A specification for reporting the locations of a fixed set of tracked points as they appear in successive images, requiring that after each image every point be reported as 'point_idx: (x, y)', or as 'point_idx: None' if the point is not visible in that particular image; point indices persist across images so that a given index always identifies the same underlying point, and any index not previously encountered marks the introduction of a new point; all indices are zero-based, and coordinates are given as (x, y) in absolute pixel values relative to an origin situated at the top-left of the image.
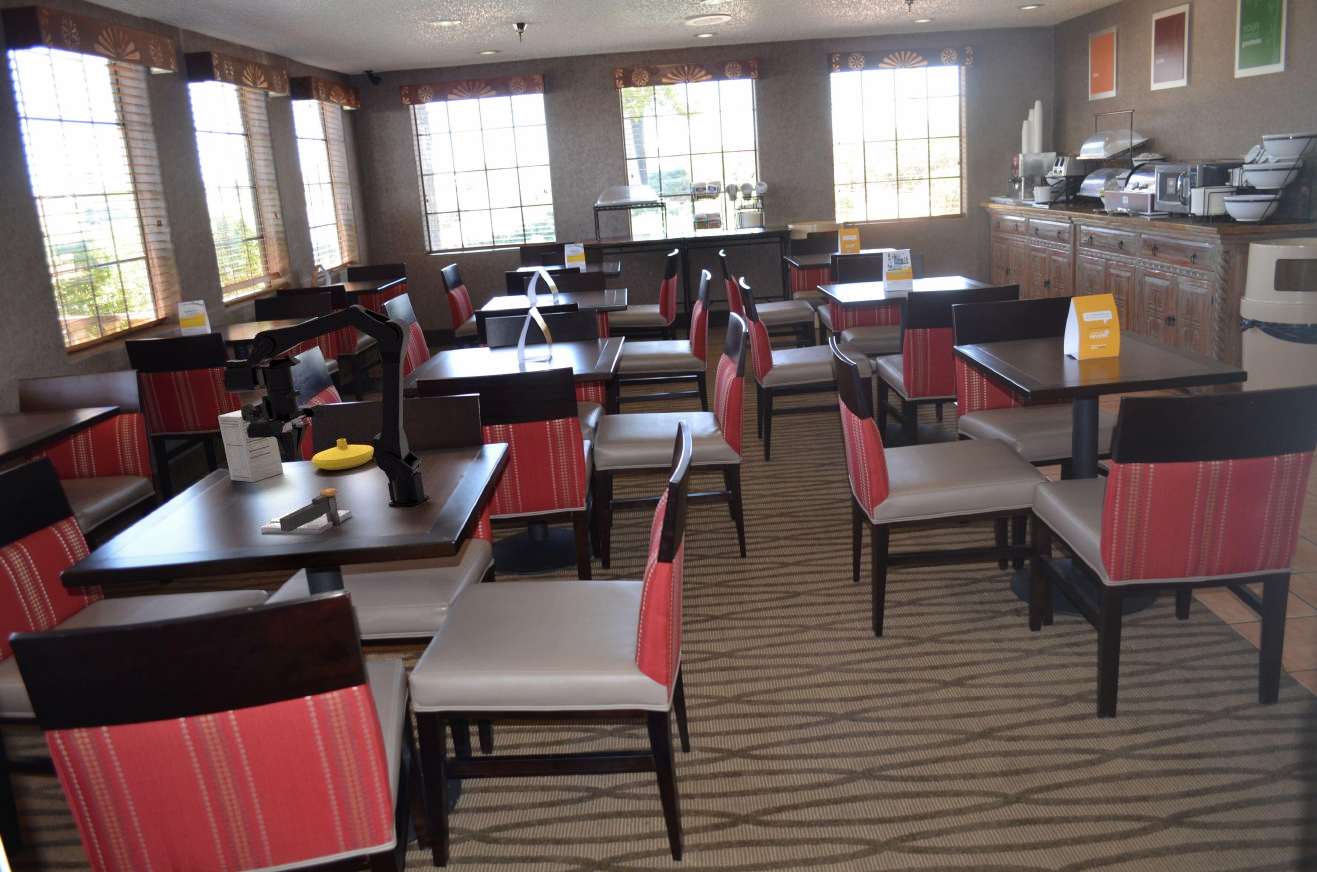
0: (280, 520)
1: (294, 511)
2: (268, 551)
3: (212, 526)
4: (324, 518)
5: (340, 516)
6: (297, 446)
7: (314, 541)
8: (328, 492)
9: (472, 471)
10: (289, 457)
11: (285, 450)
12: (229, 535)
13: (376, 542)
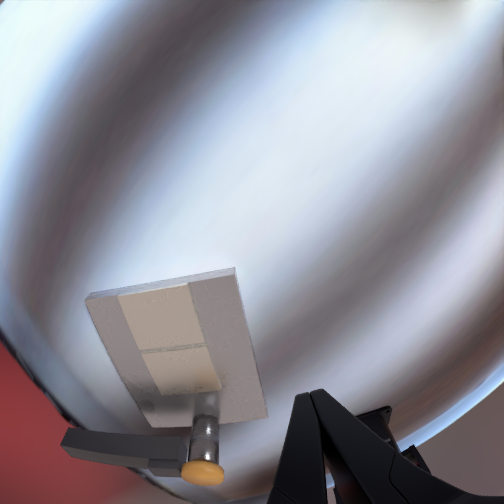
0: (62, 444)
1: (222, 284)
2: (57, 386)
3: (85, 74)
4: (201, 405)
5: (226, 422)
6: (340, 492)
7: (126, 427)
8: (191, 482)
9: (495, 377)
10: (291, 413)
11: (282, 459)
12: (48, 213)
13: (174, 483)
